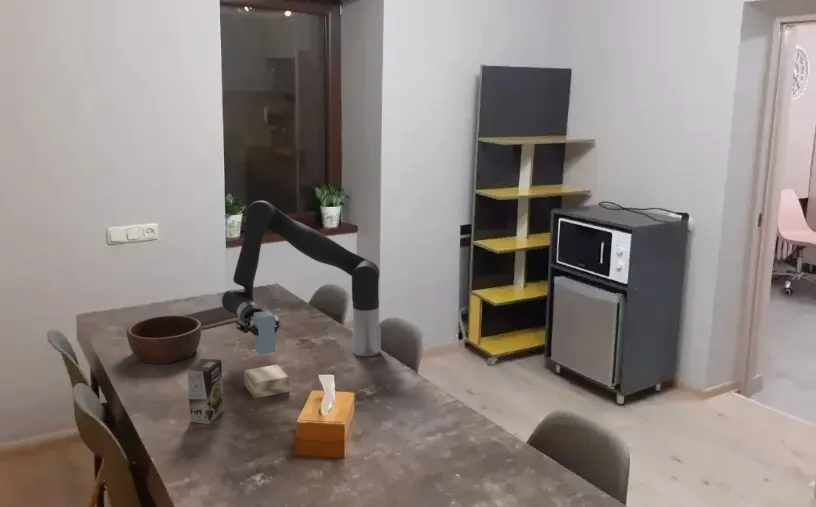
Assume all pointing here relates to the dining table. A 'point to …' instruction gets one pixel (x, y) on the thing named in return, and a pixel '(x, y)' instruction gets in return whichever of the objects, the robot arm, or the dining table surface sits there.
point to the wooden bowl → (164, 338)
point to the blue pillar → (264, 332)
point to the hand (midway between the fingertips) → (266, 331)
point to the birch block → (266, 381)
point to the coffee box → (205, 390)
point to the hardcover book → (214, 317)
